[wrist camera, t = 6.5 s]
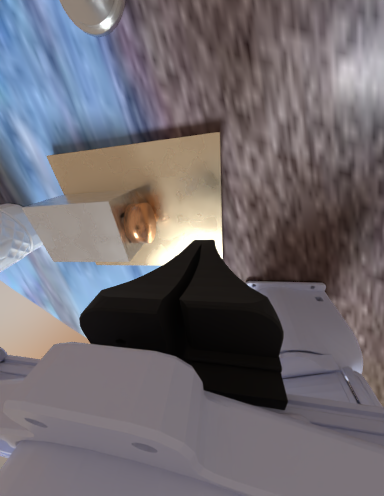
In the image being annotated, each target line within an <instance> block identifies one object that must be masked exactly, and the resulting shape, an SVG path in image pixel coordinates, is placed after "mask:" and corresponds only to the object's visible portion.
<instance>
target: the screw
mask: <svg viewBox="0 0 384 496" xmlns="http://www.w3.org/2000/svg"><path fill="white" fill-rule="evenodd" d="M60 2H61V4H62V6H63V8H64V10H65V12H66V13H67V15H68V16H69V18H70V19H71V20H72V21H73V22H74V24H75V25H76V26H78V27H79V28H80V29H81V30H83V31H84V32H85V33H87V34H89V35H91V36H95V37H102V36H106V35H108V34H109V33H111V32H112V31H113V30H114V29H115V28H116V27H117V25H118V23H119V21H120V19H121V17H122V14H123V11H124V7H125V0H60Z"/></svg>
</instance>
